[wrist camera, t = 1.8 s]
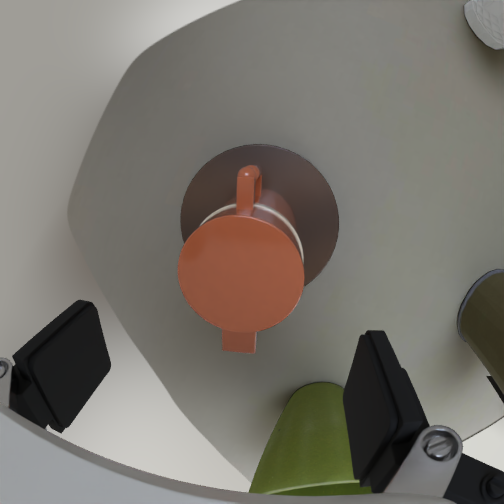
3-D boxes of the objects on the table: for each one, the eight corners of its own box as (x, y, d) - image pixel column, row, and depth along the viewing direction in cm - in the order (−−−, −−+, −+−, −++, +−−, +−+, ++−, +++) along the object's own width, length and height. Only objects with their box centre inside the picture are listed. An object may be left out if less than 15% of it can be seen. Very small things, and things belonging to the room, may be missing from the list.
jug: (219, 160, 24) (171, 167, 13) (301, 164, 23) (316, 172, 13) (219, 276, 27) (182, 348, 17) (292, 282, 27) (295, 360, 16)
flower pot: (294, 443, 37) (291, 533, 22) (236, 388, 34) (210, 499, 19) (387, 406, 33) (412, 502, 18) (347, 338, 30) (376, 463, 15)
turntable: (166, 172, 26) (160, 173, 25) (314, 127, 23) (316, 125, 22) (212, 304, 30) (209, 311, 29) (348, 273, 27) (351, 280, 26)
